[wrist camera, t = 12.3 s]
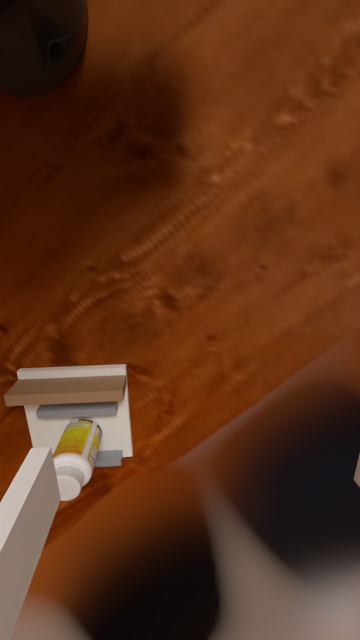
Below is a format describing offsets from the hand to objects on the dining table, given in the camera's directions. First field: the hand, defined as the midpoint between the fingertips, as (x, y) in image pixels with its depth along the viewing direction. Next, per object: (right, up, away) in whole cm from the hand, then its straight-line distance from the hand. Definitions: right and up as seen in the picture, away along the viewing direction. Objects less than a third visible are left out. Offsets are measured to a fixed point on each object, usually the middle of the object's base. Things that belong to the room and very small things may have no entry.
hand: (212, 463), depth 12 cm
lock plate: (-17, -8, +32) cm, 37 cm away
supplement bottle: (-16, -11, +32) cm, 37 cm away
